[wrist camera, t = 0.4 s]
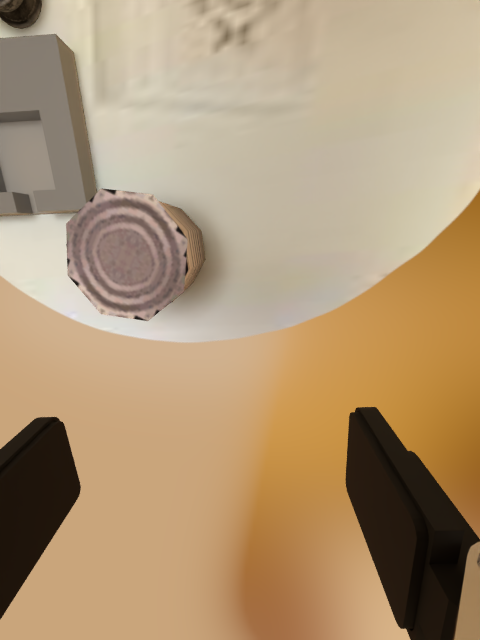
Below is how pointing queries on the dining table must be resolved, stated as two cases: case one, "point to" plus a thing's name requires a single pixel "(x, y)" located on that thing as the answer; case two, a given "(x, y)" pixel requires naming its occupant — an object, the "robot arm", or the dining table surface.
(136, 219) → the can
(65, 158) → the plate
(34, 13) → the dark chess piece
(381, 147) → the dining table surface
